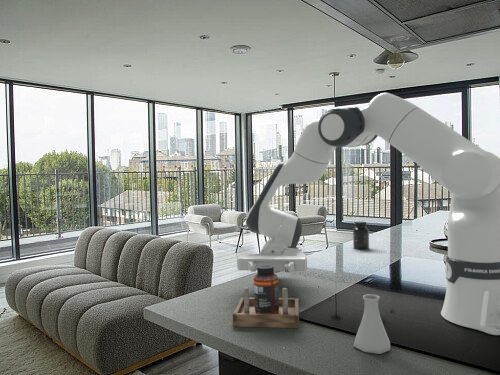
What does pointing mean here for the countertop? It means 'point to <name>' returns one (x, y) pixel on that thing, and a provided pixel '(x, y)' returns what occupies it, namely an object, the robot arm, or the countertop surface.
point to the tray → (282, 319)
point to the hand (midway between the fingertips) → (270, 268)
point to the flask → (372, 328)
